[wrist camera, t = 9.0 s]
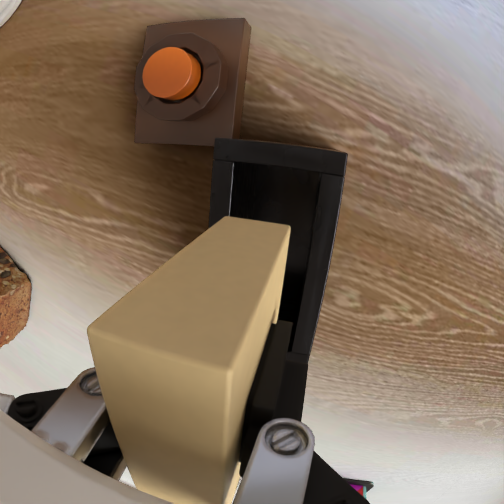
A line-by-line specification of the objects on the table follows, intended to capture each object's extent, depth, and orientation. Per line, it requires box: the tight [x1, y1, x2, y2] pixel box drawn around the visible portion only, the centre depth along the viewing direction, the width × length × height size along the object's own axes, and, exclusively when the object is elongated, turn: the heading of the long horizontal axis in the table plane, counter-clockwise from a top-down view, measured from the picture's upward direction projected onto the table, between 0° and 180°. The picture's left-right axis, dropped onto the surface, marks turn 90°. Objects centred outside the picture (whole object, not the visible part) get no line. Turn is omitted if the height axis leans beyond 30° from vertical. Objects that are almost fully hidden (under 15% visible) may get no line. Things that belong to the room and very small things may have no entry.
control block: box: [134, 18, 251, 146], centre depth 20 cm, size 10×8×4 cm
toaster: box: [209, 138, 348, 363], centre depth 21 cm, size 13×7×8 cm, turn 174°
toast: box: [87, 216, 291, 504], centre depth 9 cm, size 8×2×8 cm, turn 175°
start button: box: [143, 47, 201, 100], centre depth 18 cm, size 4×4×2 cm
